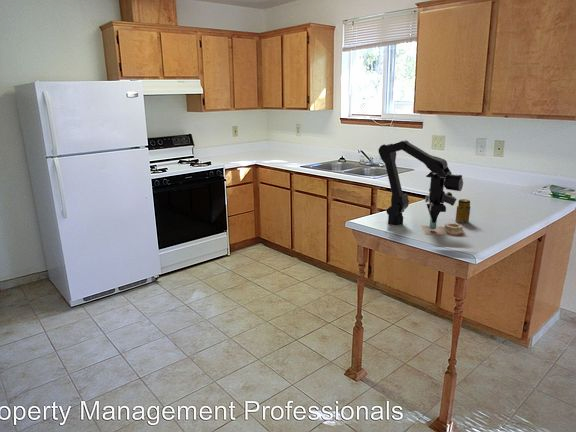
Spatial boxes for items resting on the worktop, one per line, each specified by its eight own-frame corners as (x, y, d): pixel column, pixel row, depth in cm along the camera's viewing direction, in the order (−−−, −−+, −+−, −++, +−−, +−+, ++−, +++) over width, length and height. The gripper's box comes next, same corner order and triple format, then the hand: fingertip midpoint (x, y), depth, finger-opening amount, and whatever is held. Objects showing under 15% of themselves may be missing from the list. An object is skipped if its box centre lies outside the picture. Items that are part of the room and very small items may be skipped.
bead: (446, 233, 191) (447, 227, 190) (443, 228, 197) (444, 222, 196) (462, 234, 190) (463, 228, 189) (459, 229, 196) (460, 223, 195)
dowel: (429, 228, 193) (432, 207, 190) (429, 227, 196) (431, 205, 193) (436, 229, 193) (438, 207, 190) (435, 227, 196) (437, 206, 193)
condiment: (457, 221, 213) (460, 197, 210) (475, 224, 207) (478, 200, 204) (451, 224, 208) (454, 200, 204) (469, 228, 202) (472, 203, 199)
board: (424, 237, 190) (425, 234, 190) (420, 228, 202) (421, 225, 202) (467, 239, 187) (467, 236, 187) (460, 229, 200) (461, 227, 199)
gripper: (460, 193, 179) (456, 229, 183) (451, 184, 197) (448, 216, 201) (432, 192, 181) (429, 227, 185) (426, 183, 198) (423, 215, 203)
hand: (433, 221), depth 194 cm, fingers closed on dowel, 3 cm apart
